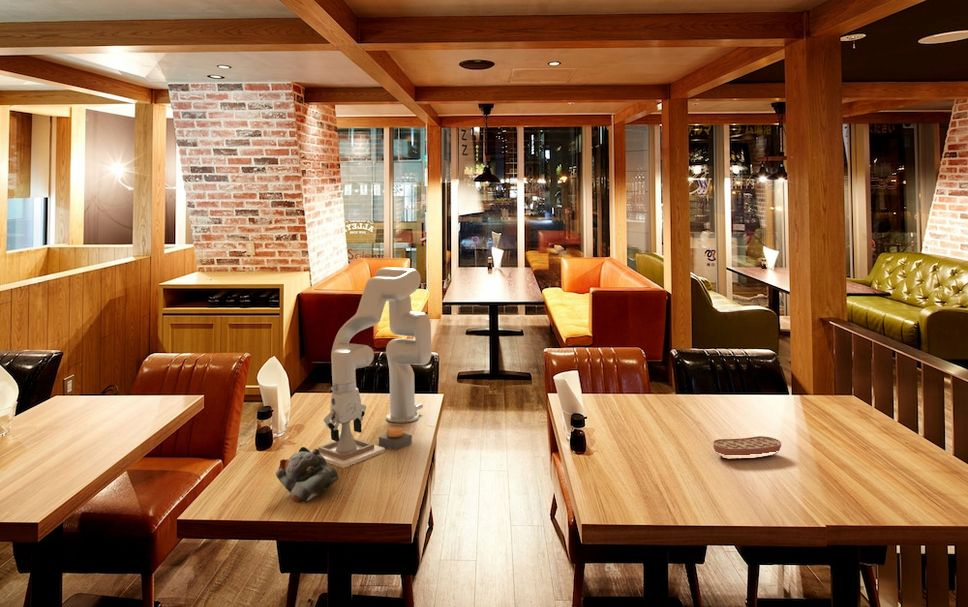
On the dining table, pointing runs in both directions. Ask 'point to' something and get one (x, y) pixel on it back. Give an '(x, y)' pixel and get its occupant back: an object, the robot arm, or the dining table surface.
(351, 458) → the tray
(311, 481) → the lucky cat figurine
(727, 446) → the brown flat oval piece
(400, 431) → the button
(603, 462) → the dining table surface
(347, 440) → the flask
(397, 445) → the button base
